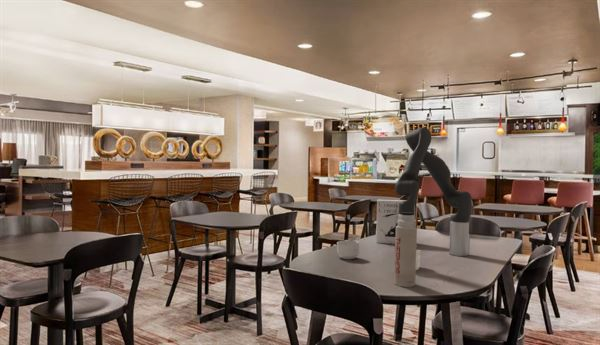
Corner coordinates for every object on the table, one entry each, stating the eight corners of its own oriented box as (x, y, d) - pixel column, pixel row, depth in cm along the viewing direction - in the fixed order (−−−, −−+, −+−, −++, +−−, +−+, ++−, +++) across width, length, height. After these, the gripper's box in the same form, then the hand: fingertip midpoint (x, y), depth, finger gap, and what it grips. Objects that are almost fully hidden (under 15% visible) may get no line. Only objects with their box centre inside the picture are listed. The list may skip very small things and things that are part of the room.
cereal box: (376, 242, 266) (377, 200, 265) (376, 240, 274) (377, 199, 273) (413, 244, 262) (415, 201, 262) (412, 242, 270) (414, 200, 269)
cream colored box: (419, 266, 206) (420, 249, 206) (417, 270, 200) (418, 252, 200) (404, 265, 209) (405, 248, 209) (402, 268, 203) (402, 251, 202)
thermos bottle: (397, 286, 172) (399, 213, 171) (391, 281, 180) (393, 210, 179) (418, 286, 173) (420, 213, 172) (411, 281, 181) (413, 211, 180)
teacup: (357, 261, 215) (358, 244, 215) (335, 259, 218) (335, 243, 217) (359, 255, 229) (360, 239, 229) (338, 254, 231) (338, 238, 231)
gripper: (400, 222, 213) (399, 256, 214) (394, 225, 200) (393, 262, 200) (416, 223, 210) (415, 258, 211) (412, 227, 197) (410, 264, 198)
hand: (405, 260), depth 206 cm, fingers open, 8 cm apart
